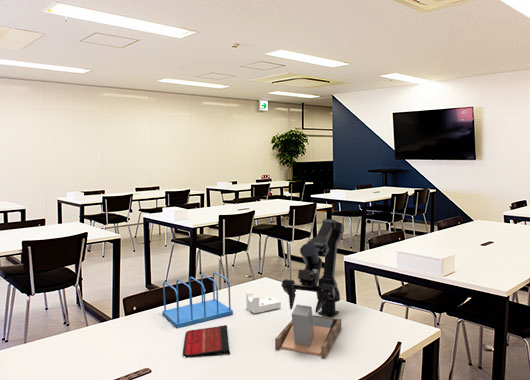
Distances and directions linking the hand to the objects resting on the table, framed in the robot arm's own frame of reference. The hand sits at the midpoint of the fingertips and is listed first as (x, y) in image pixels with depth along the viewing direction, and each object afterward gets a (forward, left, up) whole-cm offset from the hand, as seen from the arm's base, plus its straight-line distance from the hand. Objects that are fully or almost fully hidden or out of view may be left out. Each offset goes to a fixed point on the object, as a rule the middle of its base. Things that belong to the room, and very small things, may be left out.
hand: (303, 310), depth 150 cm
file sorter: (0, -53, -14) cm, 55 cm away
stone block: (-1, 0, -11) cm, 11 cm away
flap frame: (-8, -2, -14) cm, 16 cm away
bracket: (-21, -34, -14) cm, 42 cm away
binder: (+17, -31, -14) cm, 38 cm away
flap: (-7, -2, -14) cm, 16 cm away
